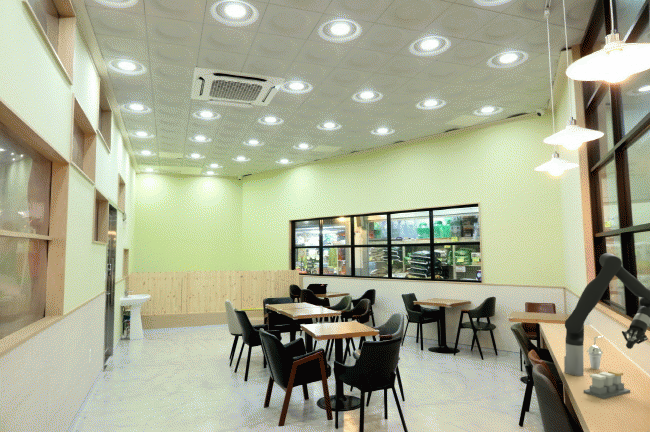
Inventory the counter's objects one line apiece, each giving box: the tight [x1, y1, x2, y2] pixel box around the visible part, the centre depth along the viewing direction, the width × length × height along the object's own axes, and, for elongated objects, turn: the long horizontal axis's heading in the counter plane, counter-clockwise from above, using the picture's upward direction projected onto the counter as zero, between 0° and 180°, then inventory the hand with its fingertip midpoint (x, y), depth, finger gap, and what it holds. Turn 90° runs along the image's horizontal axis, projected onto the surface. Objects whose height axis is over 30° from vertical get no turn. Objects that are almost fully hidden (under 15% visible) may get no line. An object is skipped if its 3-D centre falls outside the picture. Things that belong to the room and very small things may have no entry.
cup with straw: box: [586, 335, 605, 370], centre depth 271 cm, size 8×9×20 cm
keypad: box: [583, 382, 631, 400], centre depth 225 cm, size 24×10×4 cm, turn 118°
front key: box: [589, 373, 606, 388], centre depth 222 cm, size 5×5×6 cm
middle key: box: [598, 371, 615, 386], centre depth 225 cm, size 5×5×6 cm
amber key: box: [607, 369, 624, 384], centre depth 229 cm, size 5×5×6 cm
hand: (628, 347), depth 236 cm, fingers closed
